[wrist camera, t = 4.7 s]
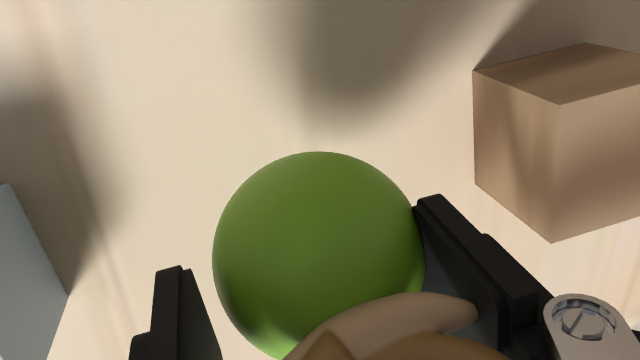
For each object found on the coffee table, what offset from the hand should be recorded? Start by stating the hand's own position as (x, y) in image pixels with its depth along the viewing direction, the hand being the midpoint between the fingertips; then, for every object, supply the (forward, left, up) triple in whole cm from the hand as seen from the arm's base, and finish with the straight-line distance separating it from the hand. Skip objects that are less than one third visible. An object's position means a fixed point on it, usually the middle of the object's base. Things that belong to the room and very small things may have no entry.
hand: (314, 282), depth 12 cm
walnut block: (+1, +11, -7) cm, 13 cm away
